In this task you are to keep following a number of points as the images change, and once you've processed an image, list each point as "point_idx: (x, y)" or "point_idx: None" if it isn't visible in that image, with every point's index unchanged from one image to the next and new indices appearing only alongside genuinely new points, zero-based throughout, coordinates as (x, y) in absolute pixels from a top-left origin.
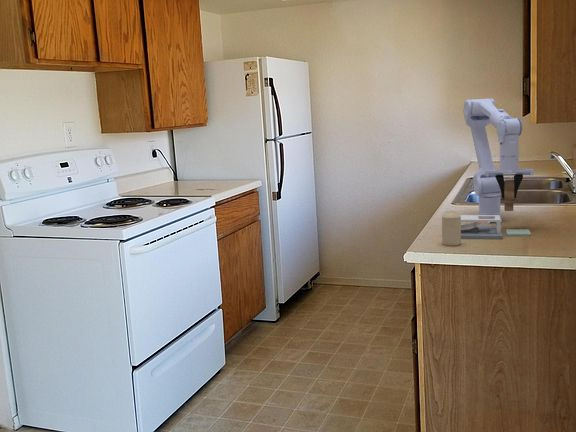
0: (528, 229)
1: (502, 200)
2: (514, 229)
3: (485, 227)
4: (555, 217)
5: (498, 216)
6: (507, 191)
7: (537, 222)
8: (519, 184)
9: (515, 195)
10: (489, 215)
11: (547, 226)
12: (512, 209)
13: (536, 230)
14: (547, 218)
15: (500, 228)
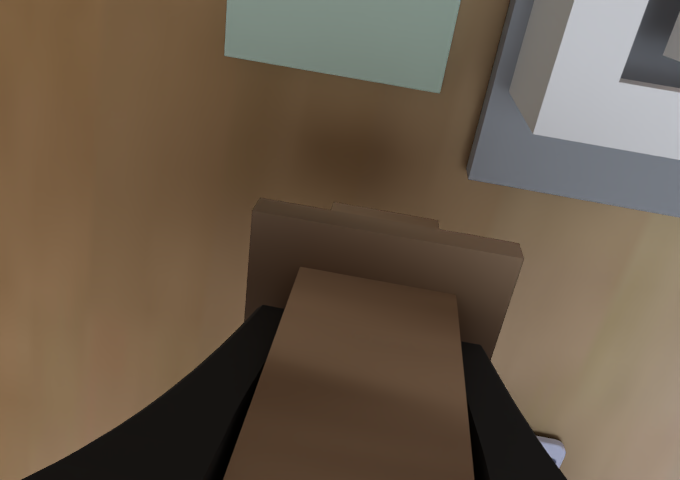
0: (227, 52)
1: (492, 282)
2: (357, 71)
3: (631, 157)
4: (5, 472)
5: (581, 33)
6: (401, 391)
7: (125, 366)
8: (86, 448)
9: (258, 325)
10: (672, 130)
11: (61, 225)
12: (342, 211)
13: (158, 83)
14: (54, 459)
15: (497, 85)
